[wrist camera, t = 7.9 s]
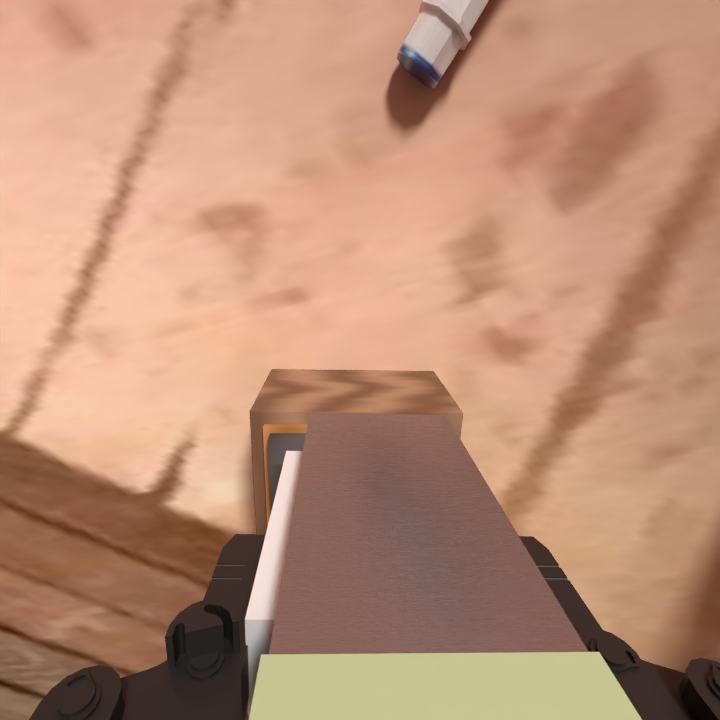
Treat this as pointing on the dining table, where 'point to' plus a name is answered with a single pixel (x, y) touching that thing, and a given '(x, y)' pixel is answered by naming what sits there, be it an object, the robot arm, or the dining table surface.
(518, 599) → the steel column
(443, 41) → the white plastic rod
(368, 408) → the walnut stand
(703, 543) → the dining table surface
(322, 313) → the dining table surface
